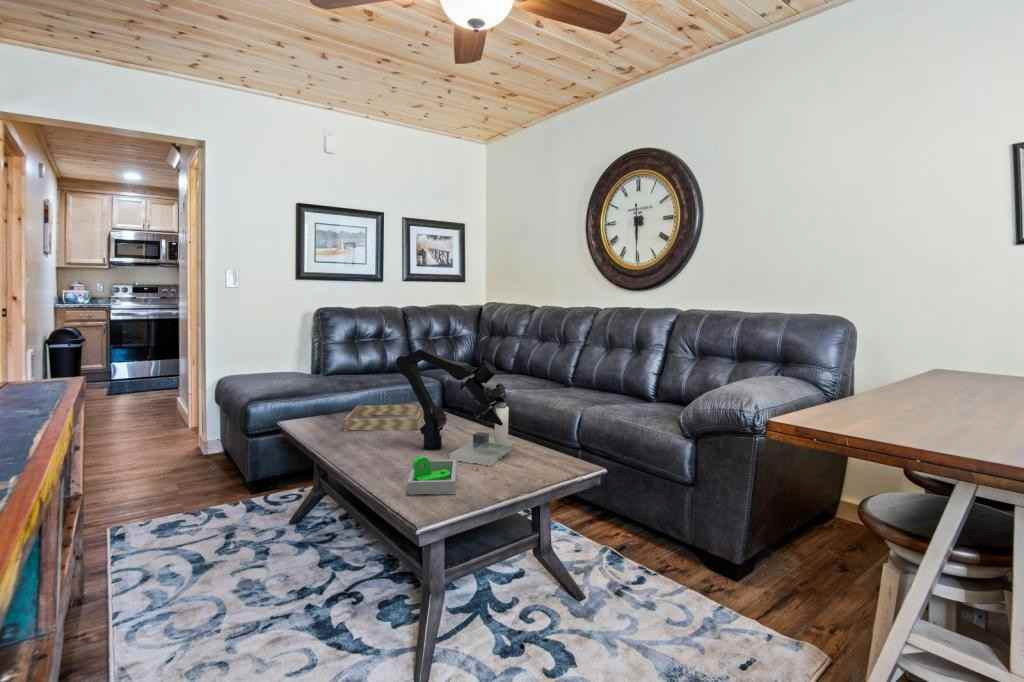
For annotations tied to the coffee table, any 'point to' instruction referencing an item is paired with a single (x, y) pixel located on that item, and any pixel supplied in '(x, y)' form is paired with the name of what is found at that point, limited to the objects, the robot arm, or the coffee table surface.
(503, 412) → the cream bottle
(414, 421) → the woven basket tray
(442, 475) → the mechanical part
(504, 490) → the coffee table surface
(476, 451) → the plate
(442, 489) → the parts tray
